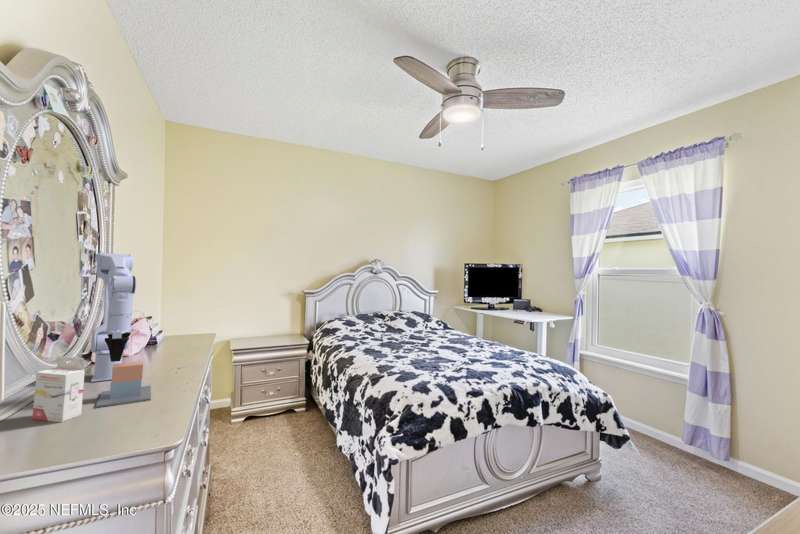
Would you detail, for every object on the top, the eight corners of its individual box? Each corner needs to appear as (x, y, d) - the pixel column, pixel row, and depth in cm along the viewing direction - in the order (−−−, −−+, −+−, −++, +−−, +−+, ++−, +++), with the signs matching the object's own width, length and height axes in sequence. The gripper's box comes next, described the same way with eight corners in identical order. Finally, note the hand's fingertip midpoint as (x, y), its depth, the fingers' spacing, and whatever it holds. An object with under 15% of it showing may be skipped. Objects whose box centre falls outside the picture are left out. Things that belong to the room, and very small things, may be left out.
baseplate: (101, 393, 103) (101, 391, 103) (150, 387, 110) (150, 385, 110) (95, 408, 91) (95, 405, 91) (150, 400, 99) (150, 398, 99)
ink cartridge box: (30, 420, 83) (35, 359, 83) (52, 412, 88) (57, 355, 88) (61, 423, 82) (66, 361, 83) (82, 415, 87) (87, 357, 88)
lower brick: (111, 394, 100) (112, 379, 100) (140, 390, 104) (141, 376, 105) (109, 399, 97) (110, 383, 97) (140, 395, 101) (141, 379, 101)
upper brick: (112, 379, 101) (113, 364, 101) (142, 376, 105) (143, 361, 105) (111, 383, 97) (112, 367, 97) (141, 379, 101) (143, 364, 101)
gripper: (135, 316, 101) (132, 362, 101) (136, 312, 113) (133, 352, 112) (104, 317, 97) (100, 364, 96) (109, 312, 109) (105, 355, 108)
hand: (116, 358), depth 104 cm, fingers open, 7 cm apart
